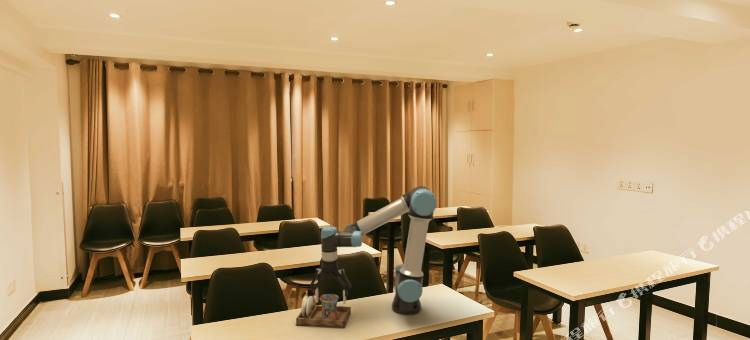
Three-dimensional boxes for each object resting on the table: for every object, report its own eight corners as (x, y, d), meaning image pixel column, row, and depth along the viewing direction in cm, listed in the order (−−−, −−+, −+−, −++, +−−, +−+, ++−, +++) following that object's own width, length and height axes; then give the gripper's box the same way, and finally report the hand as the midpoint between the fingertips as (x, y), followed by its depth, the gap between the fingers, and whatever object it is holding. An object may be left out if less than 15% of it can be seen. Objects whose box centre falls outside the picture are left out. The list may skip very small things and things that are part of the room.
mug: (339, 322, 209) (339, 300, 208) (319, 323, 208) (319, 301, 207) (338, 312, 221) (338, 291, 220) (319, 313, 220) (319, 292, 219)
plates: (313, 312, 220) (312, 293, 220) (307, 321, 211) (307, 300, 210) (307, 312, 221) (307, 292, 220) (301, 320, 211) (301, 300, 210)
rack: (350, 313, 222) (350, 306, 222) (344, 328, 205) (344, 321, 205) (306, 311, 225) (306, 304, 224) (296, 325, 208) (296, 318, 207)
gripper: (356, 257, 214) (357, 300, 216) (306, 256, 217) (307, 298, 219) (354, 262, 207) (355, 306, 209) (302, 261, 210) (303, 304, 211)
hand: (330, 302), depth 214 cm, fingers open, 13 cm apart
